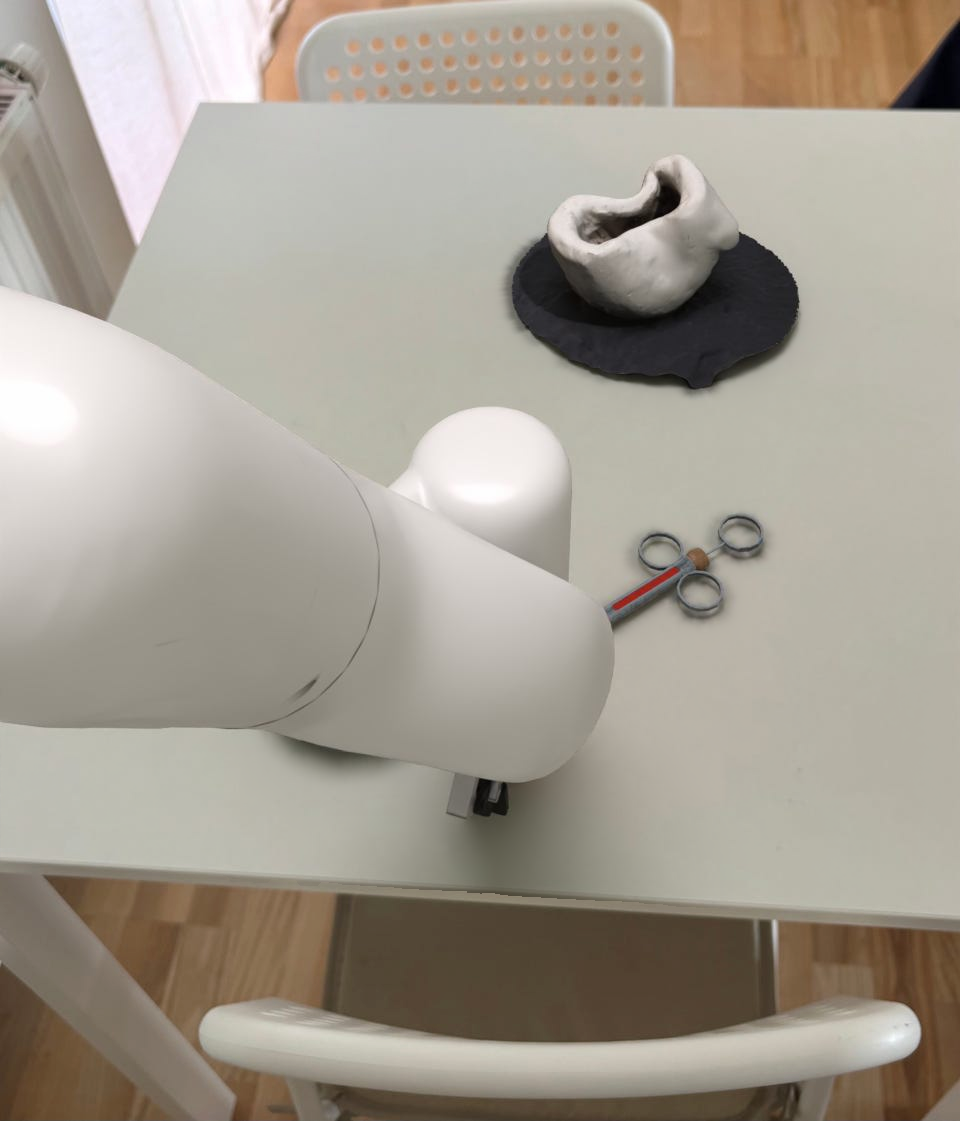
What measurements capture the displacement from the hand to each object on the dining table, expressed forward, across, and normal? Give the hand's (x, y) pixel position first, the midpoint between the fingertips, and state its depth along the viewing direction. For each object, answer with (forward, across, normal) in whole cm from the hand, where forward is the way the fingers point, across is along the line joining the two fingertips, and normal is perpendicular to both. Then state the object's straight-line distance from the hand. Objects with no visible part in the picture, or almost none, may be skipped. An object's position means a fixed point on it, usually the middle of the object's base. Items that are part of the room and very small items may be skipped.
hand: (504, 745), depth 73 cm
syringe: (+1, -16, +7) cm, 18 cm away
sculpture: (+1, -46, -1) cm, 46 cm away
